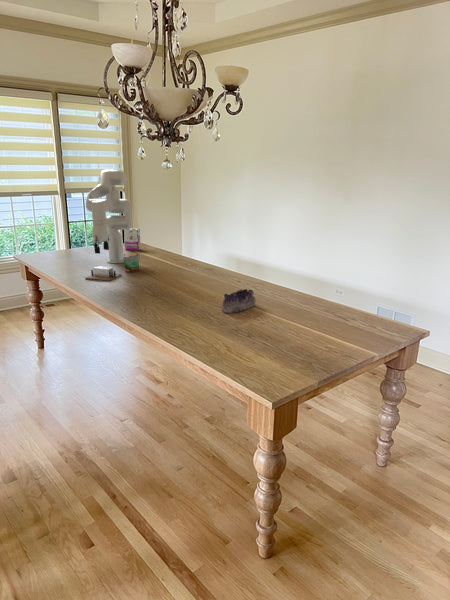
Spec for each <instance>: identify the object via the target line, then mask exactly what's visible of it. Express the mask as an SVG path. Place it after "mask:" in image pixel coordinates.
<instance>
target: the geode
mask: <svg viewBox="0 0 450 600" xmlns="http://www.w3.org/2000/svg"><path fill="white" fill-rule="evenodd" d="M254 292H255V291H254V290H253V289H248V288H245V289H239V290H237V291H236V292H231V293H230V294H227V292H226V293H225V294H224V298H223V301H222V308H221V311H222V312H223V314H226V315H230V314H232V315H233V314H238V313H239V312H242V311H245V310H248V309H250V308H252V307H254V306H256V297H255V296H254Z"/></svg>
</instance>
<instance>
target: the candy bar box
mask: <svg viewBox="0 0 450 600" xmlns="http://www.w3.org/2000/svg"><path fill="white" fill-rule="evenodd" d="M140 229H141V228H132V227H131V229H129V230H123V231H124V232H123V234H124V247H125V248H124V249H125V251H140V250H141V249H142V247H141V233H140V232H141V230H140Z"/></svg>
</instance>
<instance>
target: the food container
mask: <svg viewBox="0 0 450 600" xmlns="http://www.w3.org/2000/svg"><path fill="white" fill-rule="evenodd" d="M140 259H141V255H140V254H139V253H136V255H130V256H124V257H123V260H124V262H123V263H124V270H125V273H137V272H139V271H140Z"/></svg>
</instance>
